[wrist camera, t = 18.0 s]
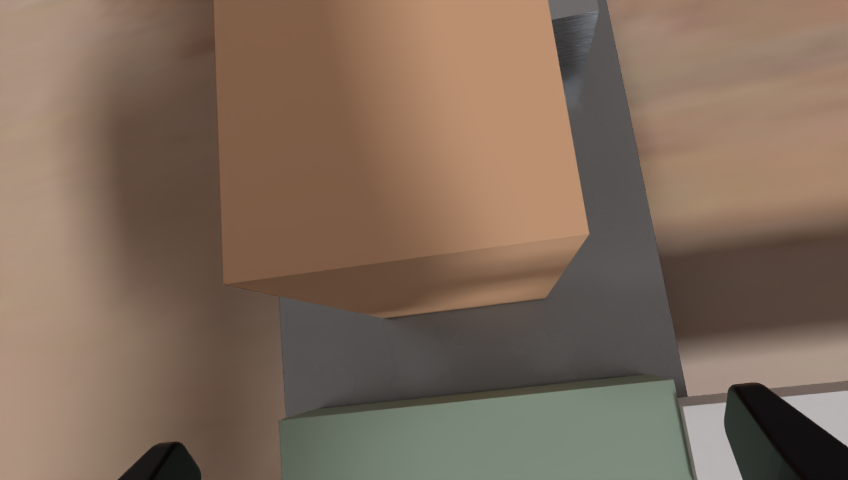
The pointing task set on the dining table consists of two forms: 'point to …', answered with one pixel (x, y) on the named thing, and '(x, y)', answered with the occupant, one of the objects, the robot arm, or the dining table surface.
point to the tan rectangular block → (394, 153)
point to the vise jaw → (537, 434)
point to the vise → (531, 320)
